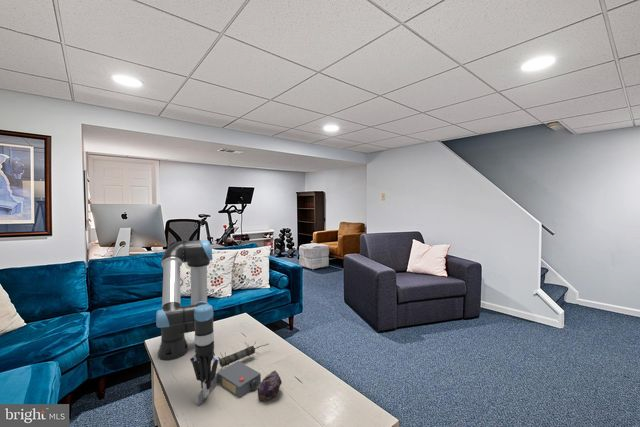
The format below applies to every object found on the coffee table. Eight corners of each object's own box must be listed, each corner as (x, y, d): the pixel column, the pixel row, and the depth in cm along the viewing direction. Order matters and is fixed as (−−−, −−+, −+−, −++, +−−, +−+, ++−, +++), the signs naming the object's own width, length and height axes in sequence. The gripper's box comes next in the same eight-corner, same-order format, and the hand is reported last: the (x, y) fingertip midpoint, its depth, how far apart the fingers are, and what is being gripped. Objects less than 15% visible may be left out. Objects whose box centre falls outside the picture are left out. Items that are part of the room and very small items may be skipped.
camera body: (216, 383, 131) (216, 371, 131) (238, 370, 141) (238, 359, 141) (241, 399, 120) (241, 386, 120) (263, 385, 130) (262, 373, 130)
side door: (215, 382, 131) (214, 373, 131) (218, 383, 131) (217, 373, 131) (196, 405, 117) (195, 394, 116) (199, 405, 116) (199, 395, 116)
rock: (255, 401, 121) (274, 408, 117) (252, 384, 120) (271, 390, 115) (270, 381, 131) (288, 387, 127) (268, 365, 130) (286, 370, 126)
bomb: (219, 351, 137) (270, 331, 158) (211, 354, 144) (261, 334, 165) (224, 375, 133) (276, 351, 154) (216, 377, 140) (266, 354, 161)
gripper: (222, 338, 122) (224, 391, 123) (196, 337, 124) (197, 388, 125) (213, 347, 115) (215, 403, 116) (185, 345, 117) (187, 400, 118)
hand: (206, 395), depth 120 cm, fingers closed
